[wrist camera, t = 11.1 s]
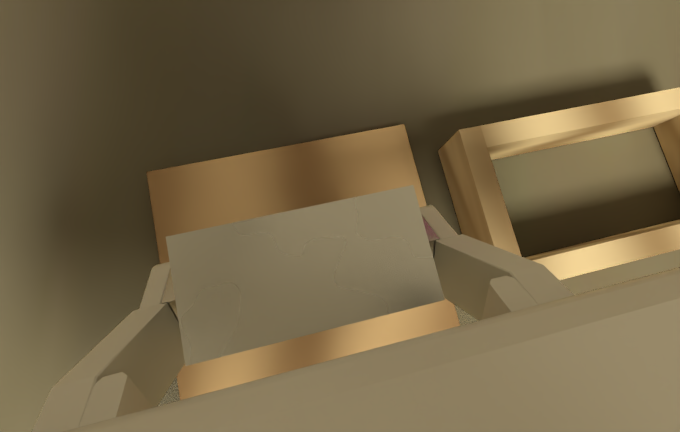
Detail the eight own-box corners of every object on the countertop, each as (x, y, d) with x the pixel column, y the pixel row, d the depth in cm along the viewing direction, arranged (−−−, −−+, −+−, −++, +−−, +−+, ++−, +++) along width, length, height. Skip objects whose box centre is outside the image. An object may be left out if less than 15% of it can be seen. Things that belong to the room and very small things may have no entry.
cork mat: (193, 457, 14) (189, 463, 14) (151, 175, 16) (146, 171, 16) (470, 377, 16) (475, 381, 15) (401, 128, 18) (404, 124, 17)
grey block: (253, 319, 14) (185, 366, 6) (243, 260, 15) (165, 236, 7) (372, 290, 15) (444, 300, 7) (359, 234, 15) (413, 185, 7)
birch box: (478, 291, 16) (508, 293, 14) (437, 151, 17) (458, 129, 15) (713, 231, 18) (777, 223, 15) (662, 106, 19) (714, 80, 17)
